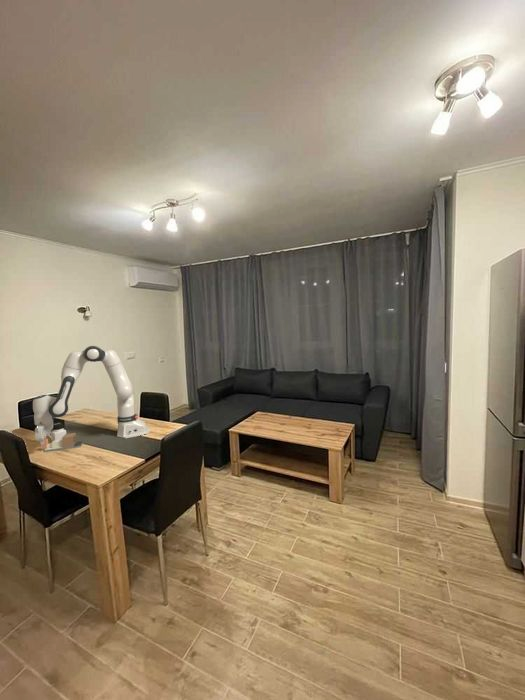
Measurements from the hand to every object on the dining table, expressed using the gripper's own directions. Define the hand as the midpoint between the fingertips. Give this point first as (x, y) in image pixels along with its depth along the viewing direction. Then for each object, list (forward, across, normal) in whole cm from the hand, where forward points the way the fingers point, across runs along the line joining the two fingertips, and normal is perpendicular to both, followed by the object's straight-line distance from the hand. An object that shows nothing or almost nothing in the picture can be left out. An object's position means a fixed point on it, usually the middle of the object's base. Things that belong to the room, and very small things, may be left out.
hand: (45, 441), depth 186 cm
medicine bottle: (+6, +14, -3) cm, 16 cm away
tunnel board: (+6, 0, -10) cm, 12 cm away
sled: (+4, 0, -4) cm, 6 cm away
